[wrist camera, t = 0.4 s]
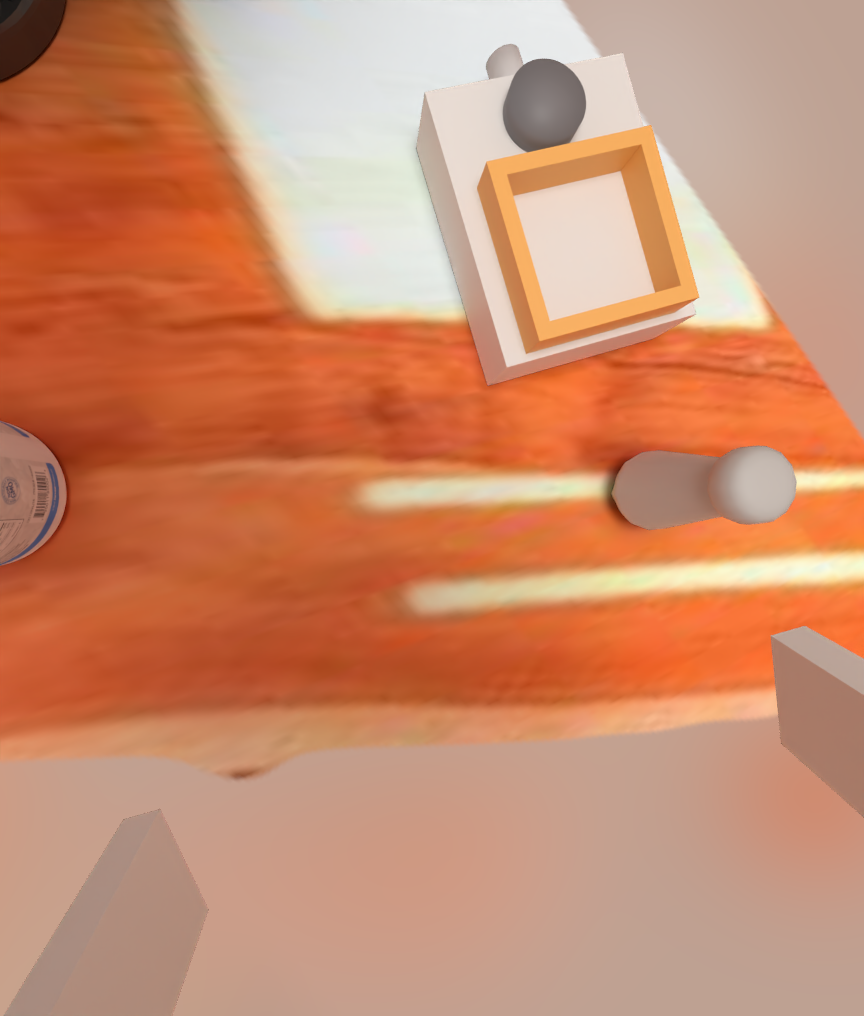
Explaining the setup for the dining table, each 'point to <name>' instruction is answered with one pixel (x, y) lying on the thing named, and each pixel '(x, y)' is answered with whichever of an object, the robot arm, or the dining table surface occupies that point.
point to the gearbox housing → (553, 212)
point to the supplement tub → (27, 493)
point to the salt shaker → (704, 487)
